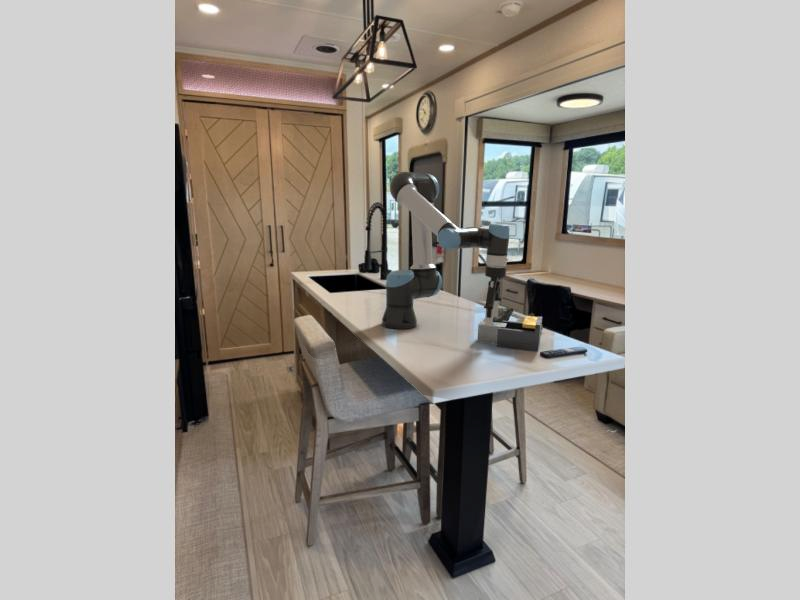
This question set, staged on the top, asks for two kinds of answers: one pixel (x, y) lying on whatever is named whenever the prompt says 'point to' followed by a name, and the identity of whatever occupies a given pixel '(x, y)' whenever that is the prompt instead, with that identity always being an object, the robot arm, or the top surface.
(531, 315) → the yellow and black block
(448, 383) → the top surface
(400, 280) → the robot arm
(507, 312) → the rock
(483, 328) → the block
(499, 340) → the dark grey open box
